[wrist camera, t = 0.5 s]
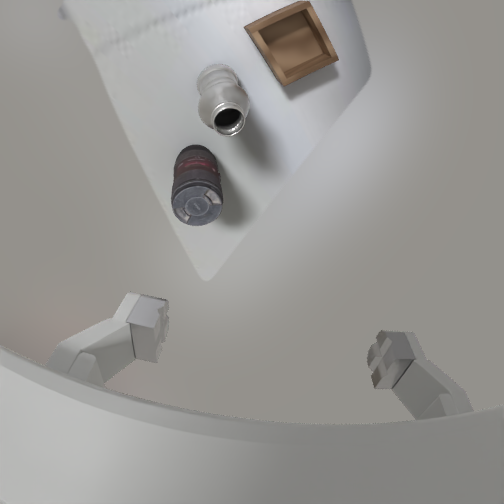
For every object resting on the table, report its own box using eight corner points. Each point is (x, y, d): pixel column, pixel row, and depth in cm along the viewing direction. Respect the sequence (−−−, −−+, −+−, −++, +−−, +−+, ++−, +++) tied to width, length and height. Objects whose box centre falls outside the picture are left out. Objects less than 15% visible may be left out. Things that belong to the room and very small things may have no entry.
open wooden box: (243, 26, 38) (248, 28, 35) (299, 0, 35) (309, 1, 32) (277, 79, 46) (284, 86, 43) (328, 54, 43) (339, 60, 40)
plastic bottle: (243, 76, 45) (271, 117, 31) (216, 104, 48) (230, 157, 34) (215, 54, 41) (228, 82, 27) (188, 83, 44) (186, 127, 30)
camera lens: (198, 132, 51) (201, 175, 41) (224, 161, 56) (234, 209, 46) (165, 158, 53) (159, 206, 43) (192, 183, 59) (194, 235, 49)
